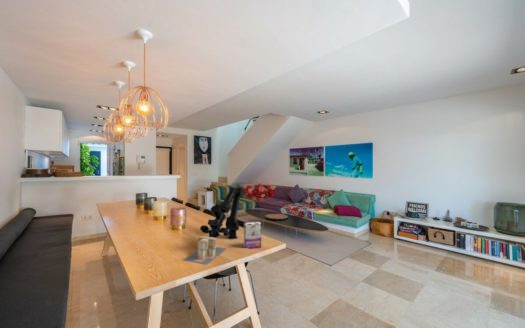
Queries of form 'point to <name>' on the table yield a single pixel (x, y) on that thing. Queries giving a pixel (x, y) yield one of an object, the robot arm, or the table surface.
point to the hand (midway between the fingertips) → (209, 243)
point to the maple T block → (206, 247)
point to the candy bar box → (252, 235)
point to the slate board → (207, 260)
